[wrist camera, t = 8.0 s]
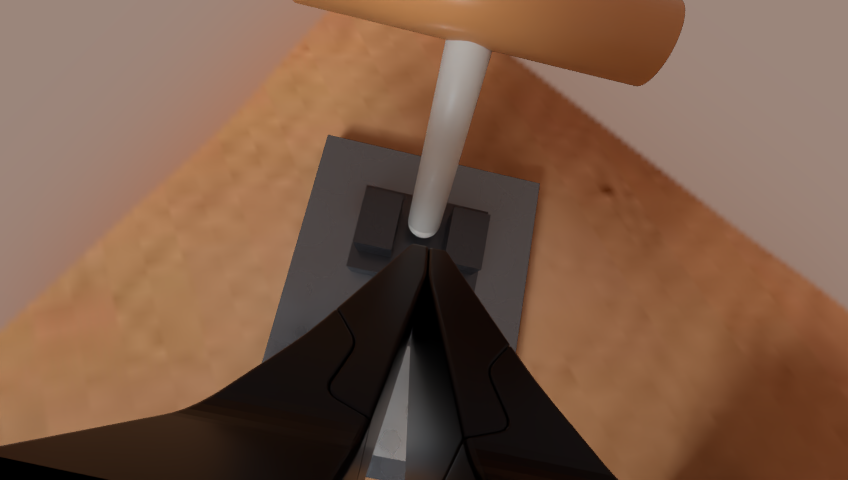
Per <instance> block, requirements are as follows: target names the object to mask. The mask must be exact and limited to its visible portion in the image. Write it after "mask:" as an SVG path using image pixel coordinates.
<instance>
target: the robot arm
mask: <svg viewBox="0 0 848 480" xmlns="http://www.w3.org/2000/svg"><path fill="white" fill-rule="evenodd" d="M411 332H412V333H411ZM410 336H411V343H410V366H409V390H408V415H407V440H406V465H405V480H618V479H617V478H616V477H615V476H614V475H613V474H612V472H611V471H610V470H609V469H608V468H607V467H606V466H605V465H604V463H603V462H602V461H601V460H600V459H599V457H598V456H597V455H596V454H595V453H594V451H593V450H592V449H591V448H590V447H589V445H588V444H587V443H586V442H585V441H584V439H583V438H582V437H581V436H580V435H579V433H578V432H577V431H576V430H575V429H574V427H573V426H572V425H571V424H570V423H569V421H568V420H567V419H566V418H565V417H564V415H563V414H562V413H561V412H560V411H559V409H558V408H557V407H556V406H555V404H554V403H553V402H552V401H551V399H550V398H549V397H548V396H547V394H546V393H545V392H544V391H543V389H542V388H541V387H540V386H539V384H538V383H537V382H536V381H535V379H534V378H533V376H532V375H531V374H530V372H529V371H528V370H527V368H526V367H525V365H524V364H523V363H522V361H521V360H520V358H519V357H518V355H517V354H516V352H515V351H514V350H513V348H512V347H510V344H509V342H508V341H507V339H506V338H505V337H504V335H503V334H502V332H501V331H500V329H499V328H498V326H497V325H496V323H495V322H494V320H493V319H492V317H491V316H490V314H489V313H488V312H487V310H486V309H485V307H484V306H483V304H482V303H481V301H480V300H479V298H478V297H477V295H476V294H475V292H474V291H473V289H472V288H471V287H470V285H469V284H468V282H467V281H466V279H465V278H464V276H463V275H462V273H461V272H460V270H459V269H458V267H457V266H456V264H455V263H454V262H453V260H452V259H451V257H450V256H449V254H448V253H447V252H446V251H444V250H440V249H435V248H430V249H428V247H426V246H422V245H417V244H411V245H410V246H409V247H408V248H406V249H405V250H404V251H403V252H402V253H401V254H399V255H398V256H397V257H396V258H395V259H394V260H392V261H391V262H390V263H389V264H388V265H387V266H385V267H384V268H383V269H382V270H381V271H380V272H378V273H377V274H376V275H375V276H374V277H373V278H371V279H370V280H369V281H368V282H367V283H366V284H364V285H363V286H362V287H361V288H360V289H359V290H357V291H356V292H355V293H354V294H353V295H352V296H350V297H349V298H348V299H347V300H346V301H345V302H343V303H342V304H341V305H340V306H339V307H338V308H337V309H336V310H334V311H333V312H331V313H330V314H329V315H328V316H327V317H326V318H324V319H323V320H322V321H321V322H320V323H318V324H317V325H316V326H315V327H313V328H312V329H311V330H310V331H308V332H307V333H306V334H304V335H303V336H301V337H300V338H299V339H297V340H296V341H294V342H293V343H291V344H290V345H288V346H287V347H286V348H284V349H283V350H281V351H280V352H278V353H277V354H275V355H274V356H272V357H271V358H269V359H267V360H266V361H264V362H263V363H261V364H260V365H258V366H257V367H255V368H254V369H252V370H251V371H249V372H248V373H246V374H245V375H243V376H242V377H240V378H239V379H237V380H235V381H234V382H232V383H231V384H229V385H228V386H226V387H225V388H223V389H222V390H220V391H218V392H217V393H215V394H214V395H212V396H210V397H208V398H206V399H204V400H203V401H201V402H199V403H197V404H194V405H192V406H190V407H187V408H185V409H182V410H179V411H176V412H173V413H168V414H164V415H159V416H154V417H148V418H143V419H138V420H133V421H128V422H122V423H117V424H112V425H107V426H102V427H97V428H91V429H86V430H81V431H76V432H71V433H65V434H60V435H55V436H50V437H45V438H40V439H34V440H29V441H24V442H19V443H14V444H8V445H3V446H0V480H365V477H366V474H367V471H368V468H369V465H370V461H371V458H372V455H373V452H374V449H375V446H376V443H377V440H378V437H379V433H380V430H381V427H382V424H383V421H384V418H385V415H386V412H387V408H388V405H389V402H390V399H391V396H392V393H393V390H394V387H395V384H396V380H397V377H398V374H399V371H400V368H401V365H402V362H403V359H404V355H405V352H406V349H407V346H408V343H409V339H410Z"/></svg>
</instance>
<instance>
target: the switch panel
mask: <svg viewBox="0 0 848 480" xmlns="http://www.w3.org/2000/svg"><path fill="white" fill-rule="evenodd" d="M420 160H421V156H418V155H414V154H409V153H405V152H401V151H396V150H392V149H388V148H383V147H379V146H375V145H370V144H366V143H362V142H357V141H353V140H349V139H344V138H340V137H336V136H331V135H328V137H327V140H326V143H325V147H324V150H323V154H322V157H321V161H320V164H319V168H318V171H317V175H316V178H315V181H314V185H313V188H312V192H311V195H310V199H309V202H308V206H307V209H306V213H305V216H304V219H303V223H302V226H301V230H300V233H299V237H298V240H297V244H296V247H295V250H294V254H293V257H292V261H291V264H290V268H289V271H288V275H287V278H286V282H285V285H284V288H283V292H282V295H281V299H280V302H279V306H278V309H277V313H276V316H275V320H274V323H273V326H272V330H271V333H270V337H269V340H268V344H267V347H266V351H265V354H264V358H263V361H262V363H263V362H264V361H266V360H267V359H269V358H271V357H272V356H274V355H275V354H277V353H278V352H280V351H281V350H283V349H284V348H286V347H287V346H288V345H290V344H291V343H293V342H294V341H296V340H297V339H299V338H300V337H301V336H303V335H304V334H306V333H307V332H308V331H310V330H311V329H312V328H313V327H315V326H316V325H317V324H318V323H320V322H321V321H322V320H323V319H324V318H326V317H327V316H328V315H329V314H330V313H331V312H333V311H334V310H336V309H337V308H338V307H339V306H340V305H341V304H342V303H343V302H345V301H346V300H347V299H348V298H349V297H350V296H352V295H353V294H354V293H355V292H356V291H357V290H359V289H360V288H361V287H362V286H363V285H364V284H366V283H367V282H368V281H369V280H370V279H371V278H373V277H374V276H375V275H376V274H377V273H378V272H380V271H381V270H382V269H383V268H384V267H385V266H387V265H388V264H389V263H390V262H391V261H392V260H394V259H395V258H396V257H397V256H398V255H399V254H401V253H402V252H403V251H404V250H405V249H406V248H408V247H409V246H410V245H411V244H417V245H422V246H426V247H428V249H430V248H435V249H440V250H444V251H446V252H447V253H448V254H449V256H450V257H451V259H452V260H453V262H454V263H455V264H456V266H457V267H458V269H459V270H460V272H461V273H462V275H463V276H464V278H465V279H466V281H467V282H468V284H469V285H470V287H471V288H472V289H473V291H474V292H475V294H476V295H477V297H478V298H479V300H480V301H481V303H482V304H483V306H484V307H485V309H486V310H487V312H488V313H489V314H490V316H491V317H492V319H493V320H494V322H495V323H496V325H497V326H498V328H499V329H500V331H501V332H502V334H503V335H504V337H505V338H506V339H507V341H508V342H509V344H510V347H512V348H513V350H514V351H515V352H516V347H517V340H518V333H519V326H520V319H521V312H522V305H523V298H524V291H525V284H526V277H527V270H528V263H529V256H530V249H531V241H532V234H533V227H534V220H535V213H536V206H537V199H538V192H539V185H540V183H535V182H531V181H527V180H522V179H518V178H514V177H509V176H505V175H501V174H496V173H492V172H488V171H483V170H479V169H475V168H470V167H466V166H461V165H458V167H457V171H456V174H455V177H454V181H453V184H452V187H451V191H450V194H449V198H448V201H447V204H446V208H445V211H444V214H443V218H442V221H441V224H440V227H439V230H438V231H437V232H436V234H434V235H433V236H431V237H428V238H420V237H417V236H416V235H414V234H413V233H412V232H411V230H410V228H409V225H408V218H409V213H410V208H411V203H412V199H413V194H414V189H415V184H416V179H417V175H418V170H419V165H420ZM411 333H412V332H411ZM410 343H411V336H410V339H409V343H408V346H407V349H406V352H405V355H404V359H403V362H402V365H401V368H400V371H399V374H398V377H397V380H396V384H395V387H394V390H393V393H392V396H391V399H390V402H389V405H388V408H387V412H386V415H385V418H384V421H383V424H382V427H381V430H380V433H379V437H378V440H377V443H376V446H375V449H374V452H373V455H372V458H371V461H370V465H369V468H368V471H367V474H366V477H369V478H374V479H379V480H405V465H406V440H407V415H408V390H409V366H410Z"/></svg>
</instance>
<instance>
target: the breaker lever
mask: <svg viewBox="0 0 848 480" xmlns="http://www.w3.org/2000/svg"><path fill="white" fill-rule="evenodd" d="M293 1H294V2H295V3H299V4H303V5H307V6H311V7H315V8H319V9H323V10H327V11H331V12H335V13H339V14H343V15H348V16H352V17H356V18H360V19H364V20H368V21H372V22H376V23H380V24H384V25H388V26H392V27H396V28H401V29H405V30H409V31H413V32H417V33H421V34H425V35H429V36H433V37H437V38H441V39H445V40H446V41H445V46H444V51H443V55H442V60H441V65H440V70H439V75H438V79H437V84H436V89H435V94H434V98H433V103H432V108H431V113H430V117H429V122H428V127H427V132H426V137H425V141H424V146H423V151H422V156H421V160H420V165H419V170H418V175H417V179H416V184H415V189H414V194H413V199H412V203H411V208H410V213H409V218H408V225H409V228H410V230H411V232H412V233H413V234H414V235H416V236H417V237H420V238H428V237H431V236H433V235H434V234H436V232H437V231H438V230H439V227H440V224H441V221H442V218H443V214H444V211H445V208H446V204H447V201H448V198H449V194H450V191H451V187H452V184H453V181H454V177H455V174H456V171H457V167H458V164H459V161H460V157H461V154H462V150H463V147H464V144H465V140H466V137H467V134H468V130H469V127H470V124H471V120H472V117H473V114H474V110H475V107H476V103H477V100H478V97H479V93H480V90H481V87H482V83H483V80H484V77H485V73H486V70H487V66H488V63H489V60H490V56H491V53H492V51H494V52H499V53H503V54H507V55H511V56H515V57H519V58H523V59H527V60H531V61H535V62H539V63H543V64H548V65H552V66H556V67H560V68H564V69H568V70H572V71H576V72H580V73H585V74H589V75H593V76H597V77H601V78H605V79H609V80H613V81H617V82H621V83H625V84H629V85H633V86H641V85H643V84H645V83H646V82H648V81H649V80H650V79H651V78H653V77H654V76H655V75H656V74H657V72H658V71H659V70H660V69H661V67H662V66H663V65H664V63H665V62H666V60H667V59H668V57H669V55H670V54H671V52H672V50H673V48H674V46H675V44H676V42H677V40H678V37H679V35H680V32H681V30H682V26H683V23H684V17H685V5H684V2H683V1H682V0H293Z"/></svg>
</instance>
